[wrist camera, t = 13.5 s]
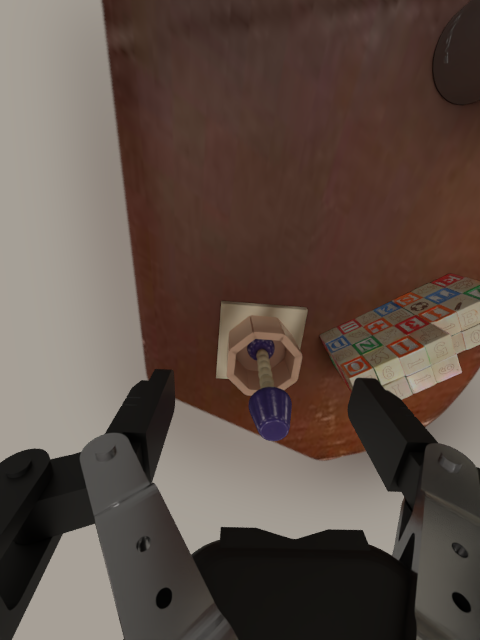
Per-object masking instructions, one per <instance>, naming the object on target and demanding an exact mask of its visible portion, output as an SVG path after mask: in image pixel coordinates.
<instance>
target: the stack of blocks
mask: <svg viewBox="0 0 480 640" xmlns="http://www.w3.org/2000/svg"><path fill="white" fill-rule="evenodd" d="M319 336H320V338H321V340H322V342H323V345H324V347H325V349H326V350H327V352H328V354H329V356H330V359H331V361H332V363H333V365H334V366H335V368H336V369H337V371H338V372H339V374H340V375H341V377H342V378H343V380H344V381H345V383H346V385H347V386H348V388H349V390H350V391H351V392H352V389H353V385H354V381H355V379H356V378H375V379H377V380H378V381H379V383H380V384H381V385H382V386H383V387H384V389H385V390H389V391H390V392H391V393H393V394H394V395H396V396H397V397H399V398H400V399H404V398H406V397H408V396H411V395H412V393H417V392H420V391H422V390H424V389H426V388H428V387H431V386H433V385H435V384H436V383H439V382H442V381H444V380H446V379H448V378H451V377H453V376H455V375H458V374H460V373H462V371H461V368H460V364H459V361H458V358H457V354H458V353H460V352H462V351H464V350H468V349H470V348H473V347H475V346H477V345H480V281H477V280H473V279H470V278H465V277H461V276H458V275H455V274H451V273H450V274H447V275H445V276H443V277H441V278H439V279H437V280H435V281H433V282H431V283H428V284H426V285H424V286H421V287H419V288H417V289H415V290H413V291H412V292H409V293H407V294H405V295H403V296H400V297H398V298H396V299H394V300H392V301H391V302H389V303H387V304H385V305H382V306H380V307H378V308H376V309H374V310H373V311H370V312H368V313H366V314H364V315H362V316H360V317H358V318H356V319H353V320H350V321H348V322H346V323H344V324H342V325H340V326H338V327H336V328H333V329H331V330H329V331H327V332H325V333H323V334H321V335H319Z"/></svg>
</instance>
